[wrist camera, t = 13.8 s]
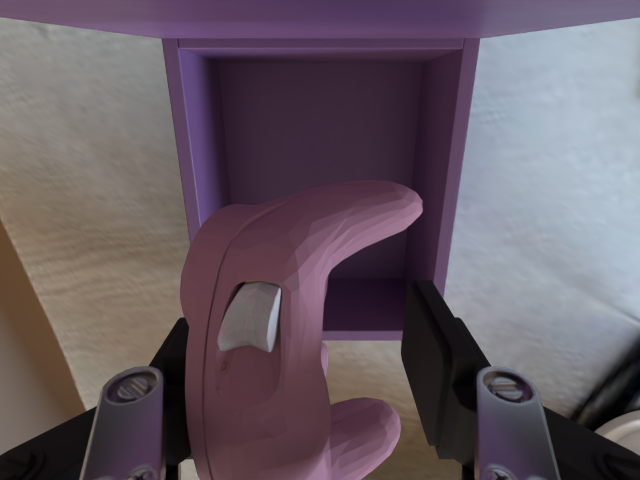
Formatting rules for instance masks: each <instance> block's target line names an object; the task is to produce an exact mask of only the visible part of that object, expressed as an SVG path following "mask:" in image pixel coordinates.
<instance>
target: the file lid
mask: <svg viewBox="0 0 640 480" xmlns="http://www.w3.org/2000/svg"><path fill="white" fill-rule="evenodd" d="M0 17H4V18H11V19H19V20H26V21H33V22H41V23H48V24H56V25H63V26H71V27H78V28H86V29H93V30H101V31H108V32H116V33H123V34H130V35H138V36H145V37H153V38H488V37H496V36H503V35H511V34H518V33H526V32H533V31H541V30H548V29H556V28H563V27H570V26H578V25H585V24H593V23H600V22H608V21H615V20H623V19H630V18H638V17H640V0H0Z"/></svg>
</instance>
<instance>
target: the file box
mask: <svg viewBox="0 0 640 480" xmlns="http://www.w3.org/2000/svg"><path fill="white" fill-rule="evenodd" d="M162 44H163V51H164V58H165V66H166V73H167V80H168V87H169V94H170V102H171V109H172V116H173V123H174V130H175V137H176V145H177V152H178V159H179V166H180V173H181V181H182V188H183V195H184V202H185V209H186V216H187V224H188V231H189V238H190V245H191V244H192V242H193V240H194V238H195V235H196V233H197V232H198V230H199V229H200V227H201V226H202V224H203V223H204V222H205V221H206V220H207V219H208V218H209V217H210V216H211V215H212V214H213V213H214V212H216V211H217V210H219V209H221V208H223V207H226V206H228V205H232V204H245V205H259V204H262V203H265V202H269V201H272V200H275V199H278V198H282V197H285V196H288V195H292V194H295V193H298V192H301V191H305V190H308V189H311V188H316V187H321V186H325V185H330V184H334V183H339V182H347V181H358V180H381V181H390V182H394V183H397V184H401V185H404V186H406V187H408V188H409V189H411V190H413V191H415V192H416V193H417V194H418V195H419V197H420V198H421V200H422V203H423V211H422V213H421V214H420V216H419V217H418V218H417V219H416V220H415V221H414V222H413V223H412V224H411V225H409V226H408V227H407V228H406V229H405V230H403V231H401V232H399V233H396V234H394V235H392V236H389V237H387V238H385V239H383V240H380V241H378V242H376V243H373V244H371V245H369V246H367V247H364V248H362V249H361V250H359V251H357V252H356V253H354V254H352V255H351V256H349V257H347V258H345V259H344V260H342V261H341V262H340V263H338V264H337V265H336V266H335V267H334V268H332V269H331V271H330V273H329V275H328V285H327V292H326V297H325V301H324V309H323V326H322V340H402V334H403V324H404V314H405V304H406V294H407V286H408V284H413V281H414V280H432V281H433V283H434V285H435V286H436V288H437V290H438V291H439V293H440V295H441V296H442V298H443V299H444V292H445V285H446V278H447V271H448V263H449V256H450V249H451V242H452V235H453V228H454V221H455V214H456V207H457V200H458V193H459V185H460V178H461V171H462V164H463V157H464V150H465V143H466V136H467V129H468V122H469V115H470V107H471V100H472V93H473V86H474V79H475V72H476V65H477V58H478V51H479V44H480V38H162Z"/></svg>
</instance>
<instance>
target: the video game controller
mask: <svg viewBox="0 0 640 480" xmlns="http://www.w3.org/2000/svg"><path fill="white" fill-rule="evenodd" d="M422 211H423V203H422V200H421V198H420V197H419V195H418V194H417V193H416V192H415V191H413V190H411V189H409V188H408V187H406V186H404V185H401V184H397V183H394V182H390V181H381V180H358V181H347V182H339V183H334V184H330V185H325V186H321V187H316V188H311V189H308V190H305V191H301V192H298V193H295V194H292V195H288V196H285V197H282V198H278V199H275V200H272V201H269V202H265V203H262V204H259V205H245V204H232V205H228V206H226V207H223V208H221V209H219V210H217V211H216V212H214V213H213V214H212V215H211V216H210V217H209V218H208V219H207V220H206V221H205V222H204V223H203V224H202V226H201V227H200V229H199V230H198V232H197V233H196V235H195V238H194V240H193V242H192V244H191V246H190V248H189V252H188V255H187V258H186V261H185V265H184V268H183V271H182V275H181V286H180V301H181V305H182V310H183V314H184V316H185V319H186V321H187V323H188V325H189V334H188V341H187V349H186V371H185V403H186V418H187V427H188V435H189V442H190V447H191V451H192V455H193V459H194V463H195V467H196V471H197V474H198V476H199V478H200V480H361V479H362V478H363V477H365V476H366V475H367V474H369V473H370V472H371V471H373V470H374V469H375V468H376V467H377V466H379V465H380V464H381V463H382V462H383V461H384V460H385V459H386V458H387V457H388V456H389V455H391V453H392V451H393V449H394V447H395V445H396V443H397V442H398V439H399V436H400V431H401V425H400V418H399V416H398V414H397V412H396V411H395V410H394V409H393V408H392V407H391V406H390V405H388V404H387V403H386V402H384V401H383V400H377V399H372V398H355V399H350V400H346V401H342V402H338V403H335V404H333V405H330V401H329V395H328V389H327V383H326V379H325V376H326V372H327V366H328V351H327V348H326V345H325V344H324V343H322V326H323V309H324V301H325V297H326V292H327V285H328V275H329V273H330V271H331V269H332V268H334V267H335V266H336V265H337V264H338V263H340V262H341V261H342V260H344V259H345V258H347V257H349V256H351V255H352V254H354V253H356V252H357V251H359V250H361V249H362V248H364V247H367V246H369V245H371V244H373V243H376V242H378V241H380V240H383V239H385V238H387V237H389V236H392V235H394V234H396V233H399V232H401V231H403V230H405V229H406V228H407V227H408V226H409V225H411V224H412V223H413V222H414V221H415V220H416V219H417V218H418V217H419V216H420V214H421V213H422Z"/></svg>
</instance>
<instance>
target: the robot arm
mask: <svg viewBox="0 0 640 480" xmlns="http://www.w3.org/2000/svg"><path fill="white" fill-rule="evenodd" d="M188 334H189V325H188V323H187V321H186V319H185V318H179V320H178V321H177V322H176V324H175V325H174V327H173V329H172V330H171V332H170V333H169V335H168V336H167V338H166V340H165V341H164V343H163V344H162V346H161V347H160V349H159V351H158V352H157V354H156V355H155V357H154V358H153V360H152V361H151V363H150V365H149V366H141V367H134V368H131V369H128V370H125V371H123V372H121V373H119V374H117V375H116V376H114V377H113V378H112V379H110V380H109V381H108V382H107V383H106V384H105V385H104V387H103V389H102V391H101V393H100V397H99V401H98V405H97V406H96V407H94V408H92V409H90V410H88V411H86V412H84V413H82V414H80V415H78V416H76V417H74V418H72V419H70V420H68V421H67V422H64V423H63V424H60V425H58V426H56V427H55V428H53V429H51V430H49V431H47V432H45V433H43V434H41V435H39V436H37V437H35V438H33V439H31V440H29V441H27V442H25V443H23V444H21V445H19V446H17V447H15V448H13V449H11V450H9V451H7V452H5V453H4V454H2V455H0V480H181V465H180V463H181V462H182V461H184V460H185V459H193V455H192V451H191V447H190V442H189V435H188V427H187V418H186V403H185V371H186V349H187V341H188ZM401 357H402V362H403V365H404V368H405V371H406V374H407V378H408V381H409V384H410V387H411V390H412V394H413V397H414V400H415V403H416V407H417V410H418V413H419V416H420V419H421V423H422V426H423V429H424V432H425V435H426V439H427V442H428V444H429V445H430V446H435V448H436V451H437V454H438V457H439V459H455V460H456V461H458V462H459V463H460V465H459V480H640V410H638V411H634V412H630V413H627V414H624V415H621V416H619V417H616V418H614V419H612V420H611V421H609V422H607V423H605V424H604V425H602V426H601V427H599V428H598V429H597V430H596V431H595V432H593V431H591V430H589V429H587V428H585V427H583V426H581V425H579V424H577V423H575V422H573V421H571V420H569V419H567V418H565V417H563V416H562V415H560V414H558V413H556V412H554V411H552V410H550V409H548V408H546V407H544V406H543V405H542V401H541V397H540V393H539V391H538V389H537V387H536V385H535V384H534V383H533V382H532V381H531V380H530V379H528V378H527V377H526V376H524V375H523V374H521V373H519V372H517V371H515V370H512V369H509V368H506V367H499V366H491V365H490V363H489V362H488V360H487V359H486V357H485V355H484V354H483V352H482V351H481V349H480V348H479V346H478V344H477V343H476V341H475V340H474V338H473V337H472V335H471V333H470V332H469V330H468V329H467V327H466V326H465V324H464V323H463V321H462V320H461V319H460V318H455V317H454V316H453V314H452V313H451V311H450V309H449V308H448V306H447V304H446V303H445V301H444V299H443V298H442V296H441V295H440V293H439V291H438V290H437V288H436V286H435V285H434V283H433V281H432V280H414V281H413V284H408V286H407V294H406V304H405V314H404V324H403V334H402V345H401Z"/></svg>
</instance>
